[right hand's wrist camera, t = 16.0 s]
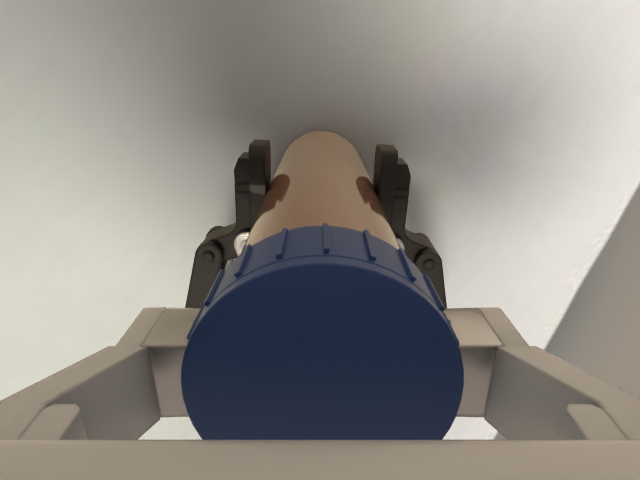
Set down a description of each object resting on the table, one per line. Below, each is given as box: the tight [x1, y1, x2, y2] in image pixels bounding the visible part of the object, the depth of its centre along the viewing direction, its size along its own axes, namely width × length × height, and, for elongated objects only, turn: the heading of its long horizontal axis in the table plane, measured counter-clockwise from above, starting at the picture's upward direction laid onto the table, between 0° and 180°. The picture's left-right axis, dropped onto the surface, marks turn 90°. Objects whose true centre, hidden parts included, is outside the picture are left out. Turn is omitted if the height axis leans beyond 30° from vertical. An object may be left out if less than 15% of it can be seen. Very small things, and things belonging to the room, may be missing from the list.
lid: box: [181, 223, 464, 440], centre depth 9 cm, size 6×6×2 cm
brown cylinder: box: [240, 131, 401, 254], centre depth 18 cm, size 5×5×18 cm
